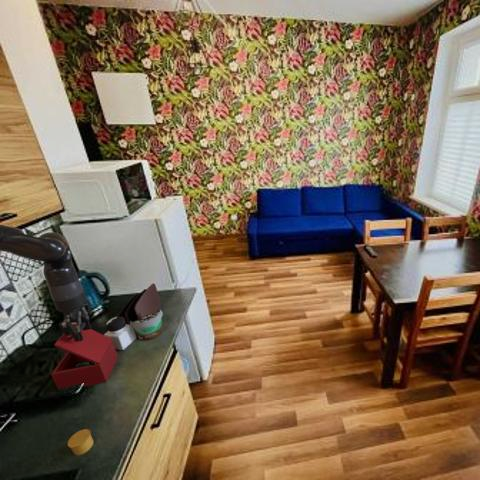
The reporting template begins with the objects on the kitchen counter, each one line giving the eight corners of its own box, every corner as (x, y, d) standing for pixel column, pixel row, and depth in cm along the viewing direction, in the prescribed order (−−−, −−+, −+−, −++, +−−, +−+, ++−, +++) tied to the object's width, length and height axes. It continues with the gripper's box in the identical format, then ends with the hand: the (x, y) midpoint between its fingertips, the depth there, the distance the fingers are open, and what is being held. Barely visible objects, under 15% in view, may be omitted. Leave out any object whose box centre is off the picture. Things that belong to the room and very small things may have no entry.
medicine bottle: (137, 338, 115) (130, 315, 110) (123, 350, 108) (114, 327, 104) (123, 335, 116) (115, 313, 111) (108, 348, 109) (99, 324, 105)
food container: (139, 347, 110) (133, 328, 106) (134, 339, 114) (128, 321, 110) (170, 332, 118) (166, 313, 115) (165, 325, 122) (160, 307, 118)
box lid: (53, 345, 85) (64, 335, 85) (72, 322, 95) (82, 313, 95) (98, 364, 92) (108, 355, 92) (111, 340, 102) (120, 332, 102)
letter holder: (161, 304, 137) (155, 280, 131) (143, 331, 119) (135, 305, 113) (140, 305, 135) (133, 282, 130) (119, 333, 117) (109, 307, 112)
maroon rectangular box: (59, 392, 91) (50, 374, 88) (76, 365, 101) (69, 349, 98) (106, 381, 95) (99, 364, 92) (118, 357, 105) (112, 341, 102)
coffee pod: (69, 458, 73) (64, 450, 71) (77, 440, 77) (73, 432, 76) (90, 453, 74) (85, 444, 73) (97, 435, 79) (93, 426, 77)
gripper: (65, 283, 91) (80, 323, 97) (39, 308, 78) (58, 352, 85) (91, 280, 93) (104, 319, 99) (70, 304, 80) (86, 347, 87)
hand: (83, 334), depth 92 cm, fingers closed on box lid, 5 cm apart
